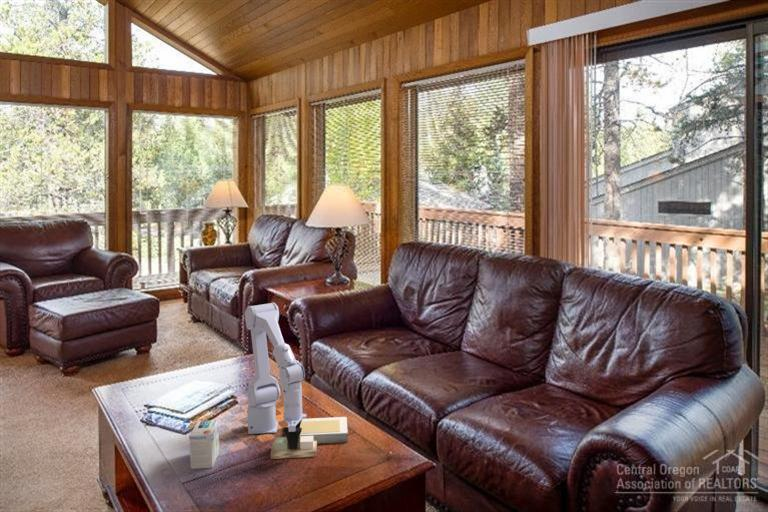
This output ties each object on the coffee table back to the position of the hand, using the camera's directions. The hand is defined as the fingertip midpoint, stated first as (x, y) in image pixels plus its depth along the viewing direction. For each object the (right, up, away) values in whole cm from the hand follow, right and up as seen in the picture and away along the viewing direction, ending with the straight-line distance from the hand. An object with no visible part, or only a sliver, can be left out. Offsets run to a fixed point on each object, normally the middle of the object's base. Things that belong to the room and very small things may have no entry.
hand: (294, 443), depth 182 cm
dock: (+6, -1, +13) cm, 14 cm away
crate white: (+4, -1, +1) cm, 4 cm away
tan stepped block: (0, -3, 0) cm, 3 cm away
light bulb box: (-27, -4, -4) cm, 27 cm away
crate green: (-4, -1, 0) cm, 4 cm away
